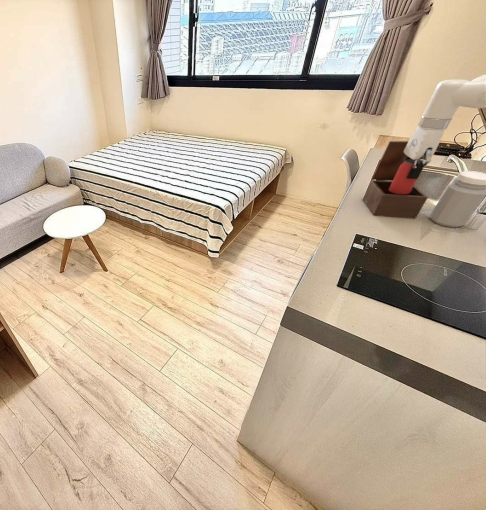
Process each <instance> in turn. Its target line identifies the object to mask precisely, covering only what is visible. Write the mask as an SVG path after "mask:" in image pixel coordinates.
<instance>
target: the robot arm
mask: <svg viewBox="0 0 486 510" xmlns="http://www.w3.org/2000/svg"><path fill="white" fill-rule="evenodd" d="M460 107H463V108H470V109H485V108H486V73H485V74H482V75H480V76H478V77H476V78H474V79H472V80H470V81H469V80H468V79H460V78H458V79H455V78H453V79H445V80H442V81H440V82H439V83H437V85H436V87H435V89H434V91H433V93H432V95H431V98H430V100H429V102H428V104H427V106H426V108H425V110H424V112H423V113H422V116H421V118H420V121H419V122H418V125H417V126H416V128H415V129H414V131H413V132H412V134H411V136H410V138H409V140H407V141H408V143H407V145H406V147H405V149H404V153H405V157H404V159H403V160H406V159H413V160H415V162H414V166H413V167H411V169H410V171H409V173H408V175H407V177H406V178H407V179H417V178H418V179H419V177H420V175H421V173H422V171H423V169H425V168H426V166H427V165H429V163H431V161H432V157H433V156H434V154H435V152H436V150H437V149H438V146H439V144H440V143H441V140H442V138H443V135H444V132H445V130H447V129H448V127H449V125H450V124H451V122H452V120H453V118H454V116H455V115H456V112H457V110H458V109H459V108H460ZM420 157H422V158H424V159H419V158H420ZM418 161H422V162H420V163H419V164H418ZM403 162H404V161H403ZM403 162H402V163H403ZM418 179H417V180H418Z"/></svg>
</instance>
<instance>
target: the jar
mask: <svg viewBox="0 0 486 510" xmlns="http://www.w3.org/2000/svg"><path fill="white" fill-rule="evenodd" d="M485 198H486V172H483V171H482V172H481V171H475V170H474V171H473V170H463V171H460V172H459V173H458V174H457V176H456V179H454V182H452V183H450V184H448V185H447V187H446V189H445V191H444V192H443V193H442V195H441V197H440V198H439V200H438V202H437V204H436V205H435V206H434V208H433V210H432V212H431V213H430V219H431V221H432V222H433V223H435V224H437V225H440V226H443V227H447V228H460V227H462V226H464V225H466V224H467V223H468V221H469V220H470V219H471V217H472V216H473V214H474V213H475V212H476V210H477V209H478V207H479V206H480V205H481V203H482V202H483V200H484V199H485Z"/></svg>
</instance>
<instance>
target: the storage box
mask: <svg viewBox="0 0 486 510" xmlns="http://www.w3.org/2000/svg"><path fill="white" fill-rule="evenodd" d="M391 183H392V180H372V179H371V180H370V182H369V183H368V185H367V189H366V191H365V193H364V195H363V198H362V201H363V202H364V204H365V206H366V207H367V209H368V210H369V212H370V213H371V214H372V215H373V216H376V217H386V218H387V217H388V218H403V219H417V217H418V215H419V214H420V212H421V210H422V208H423V207H424V205H425V203H426V201H427V200H428V198H429V197H428V196H427V195H426V194H425V193H424V192H423V191H422V190H420V189H419V188H418V187H417V186H416V185H415V184H414V186H413V188H412V190H411V192H410V193H409V194H407V195H397V194H393V193H391V192H390V191H389V187H390V185H391Z"/></svg>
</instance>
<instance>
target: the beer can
mask: <svg viewBox="0 0 486 510" xmlns="http://www.w3.org/2000/svg"><path fill="white" fill-rule="evenodd" d="M414 162H415V160H413V159H406V160H404V162H403V163H402V164H401V165H400V167H399V169H398V171H397V173H396V175H395V177H394V179H393V181H392V180H391V181H392V183H391V185H390V187H389V191H390V192H391V193H393V194H397V195H407V194H409V193H410V192H411V190H412V188H413V186H414V185H415V184H416V182H417V181H418V179H419V177H418V178H417V179H407V178H406V177H407V175H408V173H409V171H410V169H411V167H413V166H414ZM420 162H422V161H418V164H419V163H420Z"/></svg>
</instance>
